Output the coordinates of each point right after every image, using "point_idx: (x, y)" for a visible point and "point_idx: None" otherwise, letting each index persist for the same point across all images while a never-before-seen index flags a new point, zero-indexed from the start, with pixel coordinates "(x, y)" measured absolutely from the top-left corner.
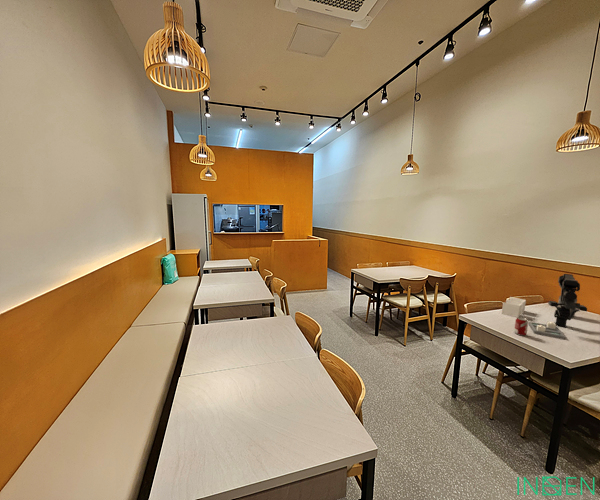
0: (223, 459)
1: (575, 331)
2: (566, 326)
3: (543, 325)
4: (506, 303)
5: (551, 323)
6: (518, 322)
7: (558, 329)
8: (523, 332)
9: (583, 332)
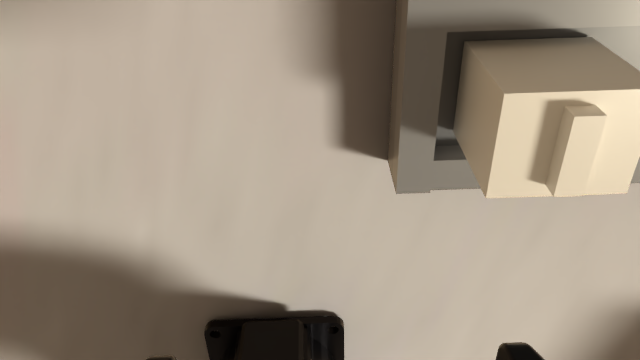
0: None
1: (121, 237)
2: (216, 346)
3: None
4: None
5: (593, 105)
6: None
7: (424, 16)
8: None
9: (25, 261)
